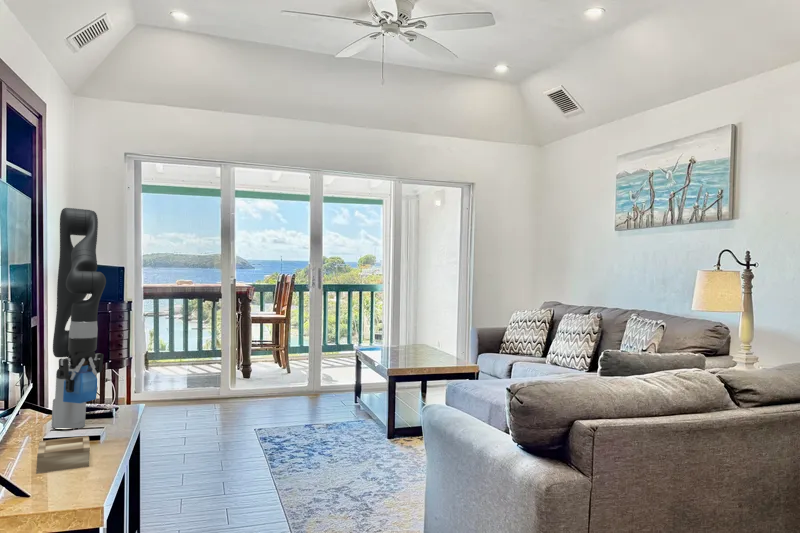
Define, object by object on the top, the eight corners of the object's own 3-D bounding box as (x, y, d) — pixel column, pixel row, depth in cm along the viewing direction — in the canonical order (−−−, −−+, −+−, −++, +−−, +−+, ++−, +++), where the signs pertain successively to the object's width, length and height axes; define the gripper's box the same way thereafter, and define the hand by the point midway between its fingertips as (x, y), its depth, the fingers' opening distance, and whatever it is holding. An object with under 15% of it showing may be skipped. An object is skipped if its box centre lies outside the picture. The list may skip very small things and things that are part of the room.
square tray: (38, 459, 149) (39, 441, 149) (87, 453, 155) (88, 435, 155) (36, 473, 139) (37, 453, 139) (88, 466, 145) (89, 447, 145)
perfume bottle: (80, 403, 158) (82, 363, 158) (62, 401, 159) (65, 362, 160) (96, 399, 164) (98, 360, 164) (79, 397, 165) (81, 359, 166)
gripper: (93, 332, 170) (91, 384, 170) (52, 337, 156) (49, 393, 156) (112, 334, 168) (109, 386, 167) (71, 338, 154) (68, 395, 154)
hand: (80, 389), depth 162 cm, fingers closed on perfume bottle, 6 cm apart
